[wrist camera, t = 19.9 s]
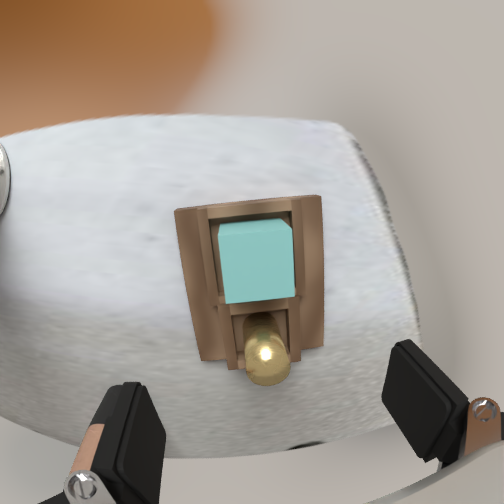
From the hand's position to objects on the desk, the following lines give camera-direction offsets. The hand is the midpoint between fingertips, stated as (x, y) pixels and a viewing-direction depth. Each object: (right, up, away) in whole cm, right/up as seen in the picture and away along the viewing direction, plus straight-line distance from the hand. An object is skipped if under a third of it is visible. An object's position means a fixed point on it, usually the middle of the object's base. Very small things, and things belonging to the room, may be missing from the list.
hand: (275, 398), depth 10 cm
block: (-1, +6, +20) cm, 21 cm away
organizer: (-1, +2, +23) cm, 24 cm away
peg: (0, -3, +23) cm, 23 cm away
